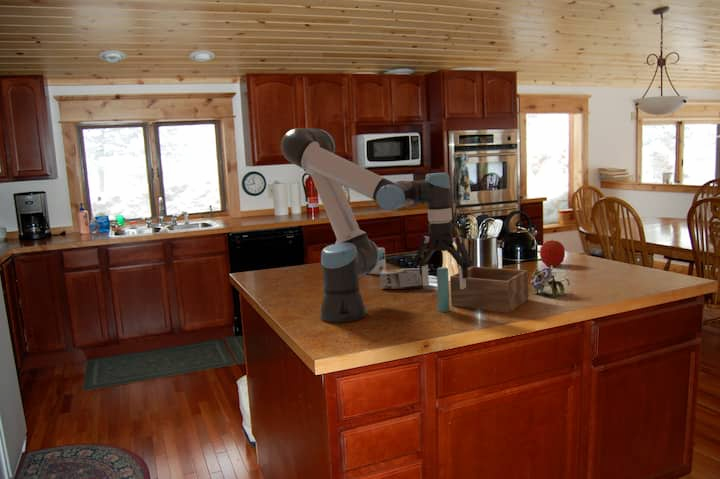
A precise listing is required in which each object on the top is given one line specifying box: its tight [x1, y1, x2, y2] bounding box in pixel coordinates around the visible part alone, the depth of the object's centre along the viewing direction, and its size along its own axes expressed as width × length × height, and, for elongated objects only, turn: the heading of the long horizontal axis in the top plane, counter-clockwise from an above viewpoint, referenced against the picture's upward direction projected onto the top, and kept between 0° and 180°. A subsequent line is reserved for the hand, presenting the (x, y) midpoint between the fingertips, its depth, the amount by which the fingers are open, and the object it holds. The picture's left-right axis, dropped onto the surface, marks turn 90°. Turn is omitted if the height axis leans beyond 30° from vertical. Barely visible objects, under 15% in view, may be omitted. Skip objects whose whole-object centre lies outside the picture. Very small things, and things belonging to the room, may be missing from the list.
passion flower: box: [530, 265, 571, 298], centre depth 192 cm, size 11×11×12 cm
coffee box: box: [379, 267, 424, 290], centre depth 216 cm, size 9×6×16 cm
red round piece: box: [539, 239, 566, 268], centre depth 235 cm, size 10×10×12 cm
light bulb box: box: [368, 247, 387, 275], centre depth 245 cm, size 11×7×11 cm, turn 58°
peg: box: [436, 267, 451, 313], centre depth 180 cm, size 4×4×14 cm
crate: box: [449, 265, 529, 314], centre depth 186 cm, size 17×20×10 cm
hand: (444, 286), depth 180 cm, fingers open, 13 cm apart
